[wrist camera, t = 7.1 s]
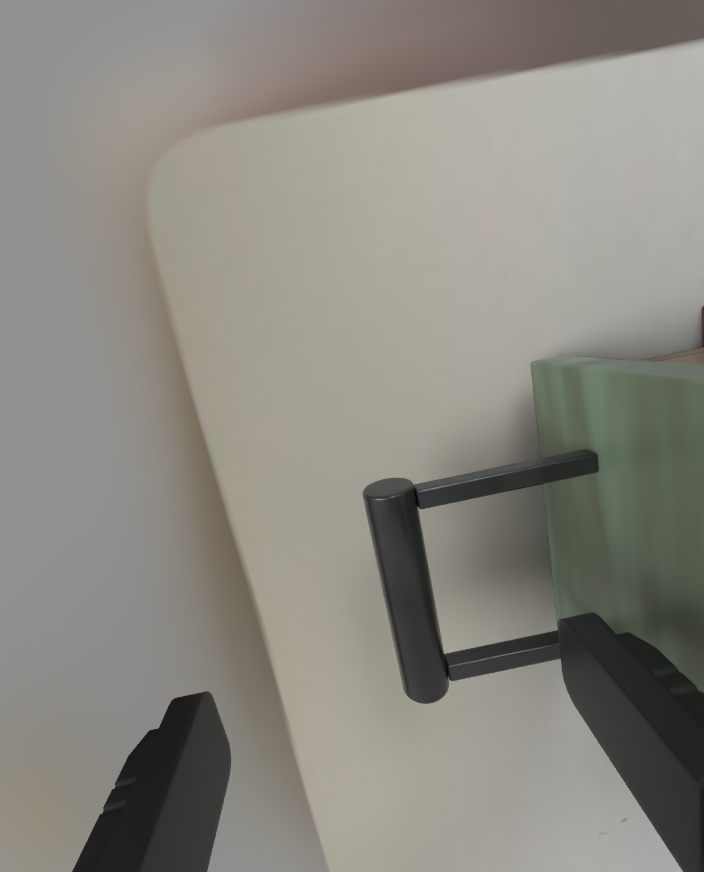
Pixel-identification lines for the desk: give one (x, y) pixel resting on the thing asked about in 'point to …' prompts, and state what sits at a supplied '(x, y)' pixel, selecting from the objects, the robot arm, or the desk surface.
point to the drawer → (575, 519)
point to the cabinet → (703, 326)
